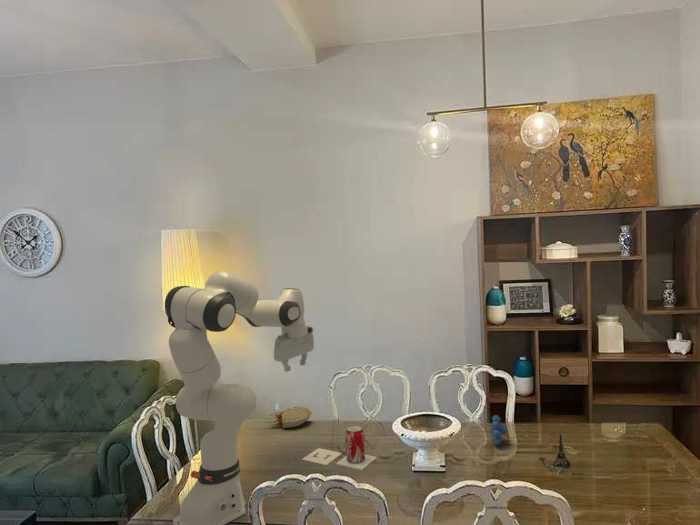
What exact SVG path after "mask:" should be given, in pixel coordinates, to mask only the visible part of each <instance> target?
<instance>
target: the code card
mask: <svg viewBox="0 0 700 525" xmlns="http://www.w3.org/2000/svg"><path fill="white" fill-rule="evenodd" d="M342 454H343V453H342V452H339V451H336V450H335V451H333V450H331V449H330V450H329V449H324V448H320V447H318V448H316V449H315V450H313V451H312V452H310V453H309V454H307V455H306V456H304V457H303V458H302V459H301V461H304V462H305V461H306V462H309V463H314V464H319V465H322V466H328V465H329V464H330V463H332V462H333V461H335V460H336V459H337V458H339V457H340V456H341V455H342Z"/></svg>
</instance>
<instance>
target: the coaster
mask: <svg viewBox="0 0 700 525" xmlns="http://www.w3.org/2000/svg"><path fill="white" fill-rule="evenodd" d="M377 458H378V456H373V455H369V454H365V459H364V460H362V461H361V462H359V463H352V462H350V461H348V460H347V457H346V455H345V456H344V457H343V458H341V459H340V460H338V461H337V462H336V463H335V465H336V466H340V467H343V468H349V469H353V470H357V471H364V470H365V469H366V468H368V466H370V465H371V464H372V463H374V461H376V460H377Z"/></svg>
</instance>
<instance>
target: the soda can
mask: <svg viewBox="0 0 700 525" xmlns="http://www.w3.org/2000/svg"><path fill="white" fill-rule="evenodd" d="M344 438H345V456H346V457H347V460H348V461H350V462H352V463H359V462H361V461H362V460H364V459H365V455H366V441H365V439H366V438H365V432H364V430H363V427H362V426H361V425H356V424H355V425H349V426H347V427H346V431H345V435H344Z"/></svg>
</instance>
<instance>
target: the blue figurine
mask: <svg viewBox="0 0 700 525" xmlns="http://www.w3.org/2000/svg"><path fill="white" fill-rule="evenodd" d="M501 420H502V419H501V417H500V416H499V415H497V414H495V415H493V416H492V418H491V421H492V423H491V426H492V427H491V428H490V429H489V430H490V432H491V434H492V435H493V436H492V442H493V444H494V445H495V446H500V445H501V443H502V437H503V435H506V434H507V433H508V432H509V430H508V428H507V427H506V426H503V424H502V423H501Z"/></svg>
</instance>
